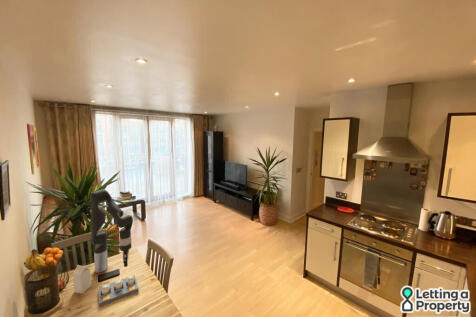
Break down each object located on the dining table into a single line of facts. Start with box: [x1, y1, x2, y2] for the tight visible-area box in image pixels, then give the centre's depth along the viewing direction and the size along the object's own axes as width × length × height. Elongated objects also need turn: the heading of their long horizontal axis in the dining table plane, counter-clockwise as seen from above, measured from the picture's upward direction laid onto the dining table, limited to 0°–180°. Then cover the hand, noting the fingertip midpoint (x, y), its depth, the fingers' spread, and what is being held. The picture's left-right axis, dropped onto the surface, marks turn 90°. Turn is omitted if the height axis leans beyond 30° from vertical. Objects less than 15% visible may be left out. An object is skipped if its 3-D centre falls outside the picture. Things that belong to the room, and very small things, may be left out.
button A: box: [101, 283, 110, 295], centre depth 141 cm, size 5×5×4 cm
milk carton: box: [72, 264, 92, 294], centre depth 146 cm, size 7×7×19 cm
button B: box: [114, 279, 122, 290], centre depth 146 cm, size 5×5×4 cm
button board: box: [98, 274, 139, 308], centre depth 146 cm, size 17×24×3 cm
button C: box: [126, 275, 134, 285], centre depth 151 cm, size 5×5×4 cm
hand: (126, 263), depth 146 cm, fingers open, 8 cm apart
